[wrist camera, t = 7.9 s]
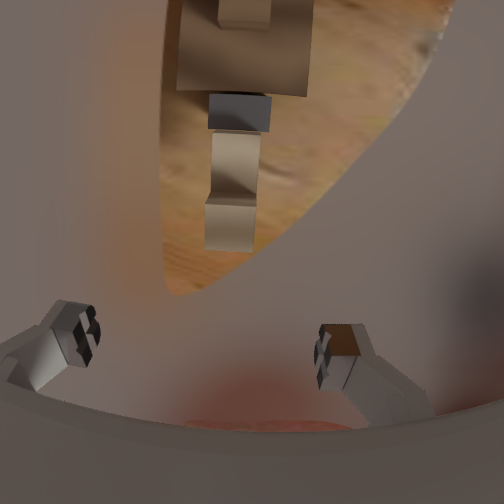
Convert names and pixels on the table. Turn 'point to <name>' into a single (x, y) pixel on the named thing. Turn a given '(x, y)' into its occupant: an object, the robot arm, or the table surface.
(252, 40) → the toolbox lid
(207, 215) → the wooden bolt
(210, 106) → the toolbox
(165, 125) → the table surface
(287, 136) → the table surface
